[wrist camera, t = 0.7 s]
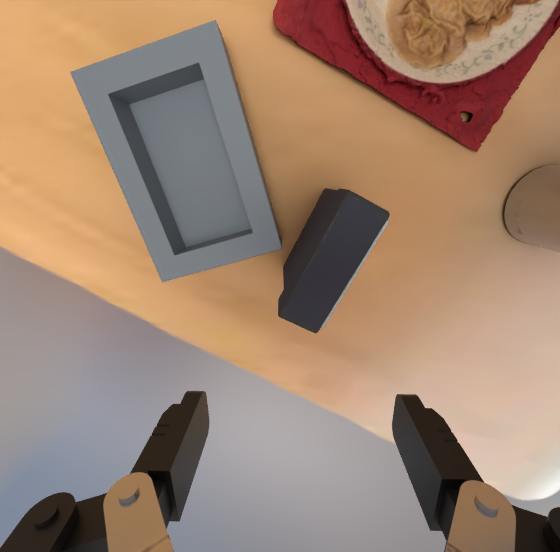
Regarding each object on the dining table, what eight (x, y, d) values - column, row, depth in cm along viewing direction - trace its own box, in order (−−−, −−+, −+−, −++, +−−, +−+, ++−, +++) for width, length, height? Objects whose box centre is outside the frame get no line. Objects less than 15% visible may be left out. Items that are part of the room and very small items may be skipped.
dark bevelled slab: (307, 279, 38) (324, 339, 24) (278, 265, 37) (277, 318, 23) (351, 202, 35) (401, 217, 20) (320, 185, 34) (349, 189, 20)
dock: (226, 45, 30) (215, 19, 25) (281, 239, 36) (282, 248, 31) (102, 88, 31) (70, 72, 26) (177, 269, 37) (162, 282, 33)
